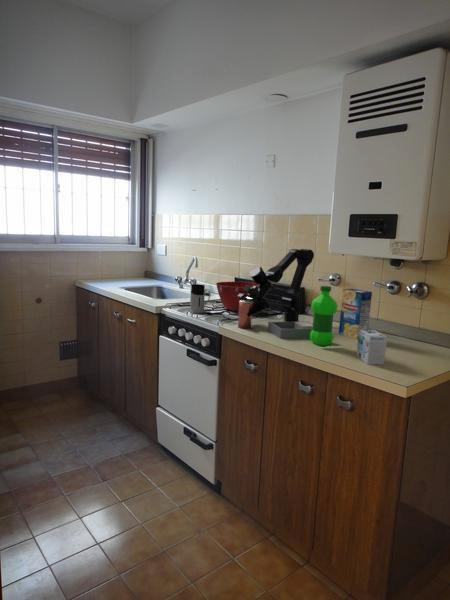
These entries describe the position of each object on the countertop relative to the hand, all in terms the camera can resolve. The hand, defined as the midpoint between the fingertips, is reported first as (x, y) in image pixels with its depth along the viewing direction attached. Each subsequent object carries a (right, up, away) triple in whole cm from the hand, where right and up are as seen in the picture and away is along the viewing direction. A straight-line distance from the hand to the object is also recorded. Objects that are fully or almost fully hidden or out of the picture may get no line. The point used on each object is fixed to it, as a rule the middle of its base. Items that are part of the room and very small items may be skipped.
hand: (243, 314), depth 203 cm
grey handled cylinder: (-23, 0, +34) cm, 41 cm away
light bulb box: (+46, -16, -43) cm, 65 cm away
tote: (+23, -10, -10) cm, 27 cm away
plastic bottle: (+32, -12, -24) cm, 42 cm away
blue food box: (+50, -11, -8) cm, 52 cm away
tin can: (+1, -6, +2) cm, 7 cm away
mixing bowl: (-1, +1, +49) cm, 49 cm away
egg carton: (+28, -9, -9) cm, 30 cm away
